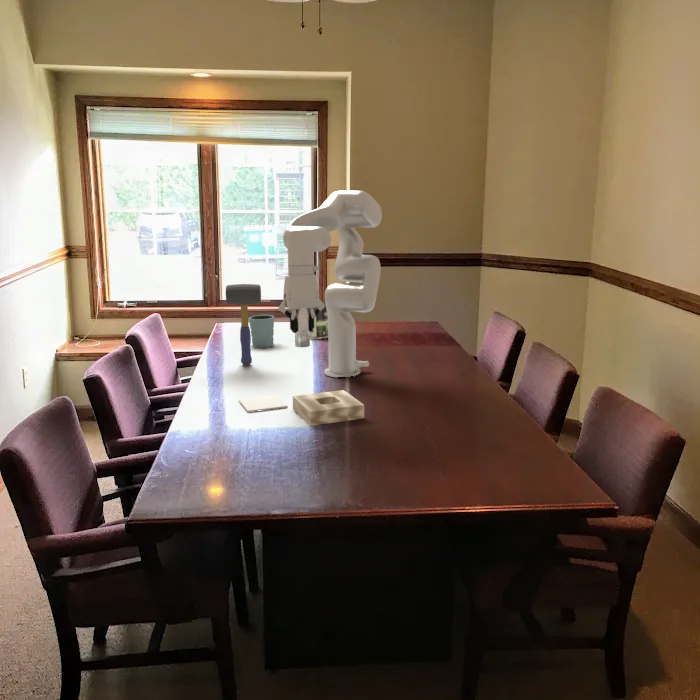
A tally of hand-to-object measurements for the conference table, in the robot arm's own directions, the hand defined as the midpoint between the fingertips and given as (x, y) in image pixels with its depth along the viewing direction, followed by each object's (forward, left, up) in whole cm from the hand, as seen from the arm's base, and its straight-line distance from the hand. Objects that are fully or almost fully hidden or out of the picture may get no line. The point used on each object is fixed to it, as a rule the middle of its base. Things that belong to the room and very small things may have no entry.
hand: (302, 330), depth 212 cm
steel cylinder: (0, 0, -5) cm, 5 cm away
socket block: (-2, +16, -21) cm, 27 cm away
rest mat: (+13, 0, -21) cm, 25 cm away
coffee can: (-34, -86, -22) cm, 95 cm away
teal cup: (-8, -79, -22) cm, 82 cm away
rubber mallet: (+6, -49, -22) cm, 54 cm away
